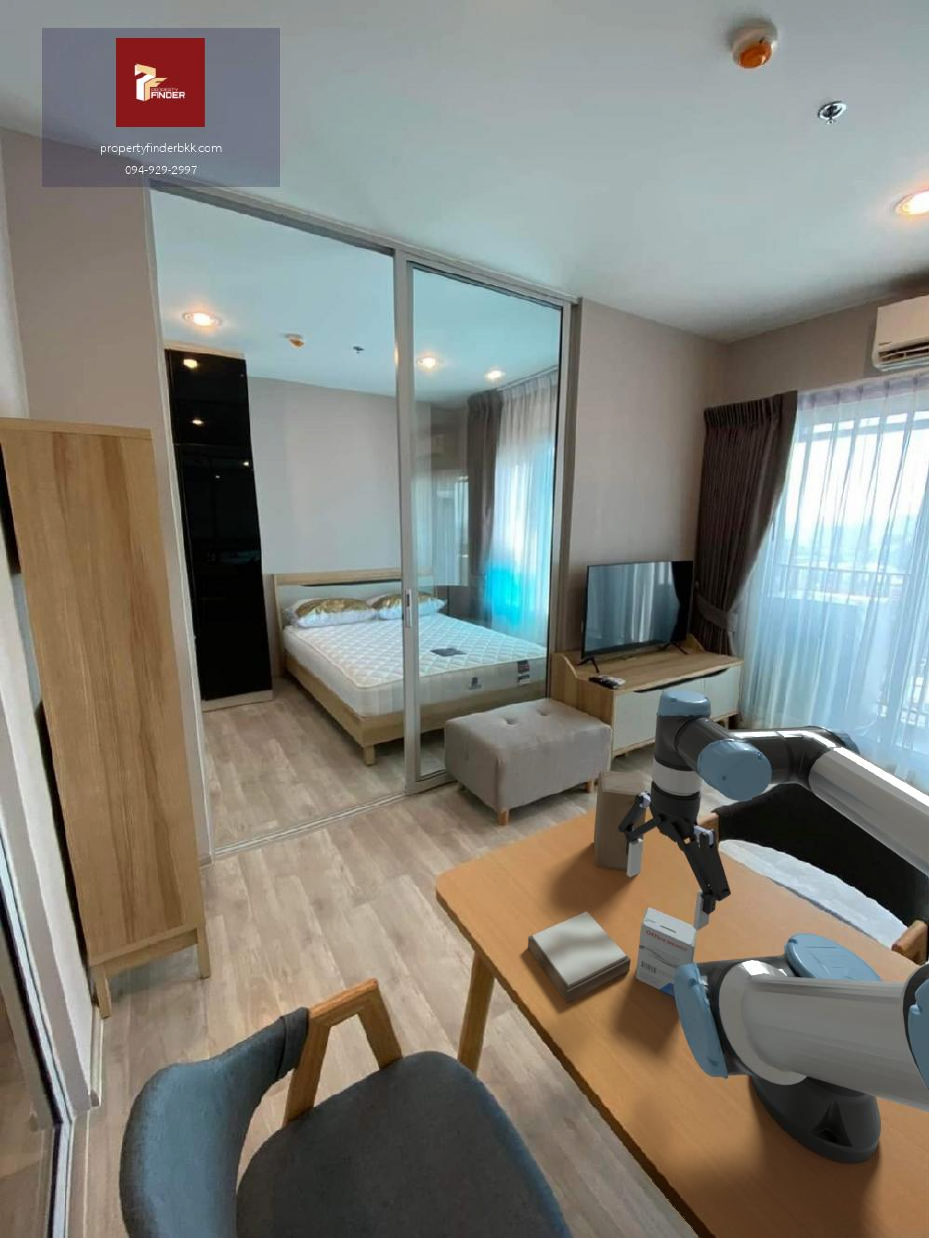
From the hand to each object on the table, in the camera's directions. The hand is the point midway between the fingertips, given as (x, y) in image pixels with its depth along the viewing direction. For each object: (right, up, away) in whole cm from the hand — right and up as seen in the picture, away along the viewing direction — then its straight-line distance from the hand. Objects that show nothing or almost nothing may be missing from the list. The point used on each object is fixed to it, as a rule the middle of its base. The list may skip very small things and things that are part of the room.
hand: (664, 898), depth 84 cm
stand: (-13, -15, +7) cm, 22 cm away
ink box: (+1, -17, +3) cm, 17 cm away
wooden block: (+2, -10, +34) cm, 36 cm away
